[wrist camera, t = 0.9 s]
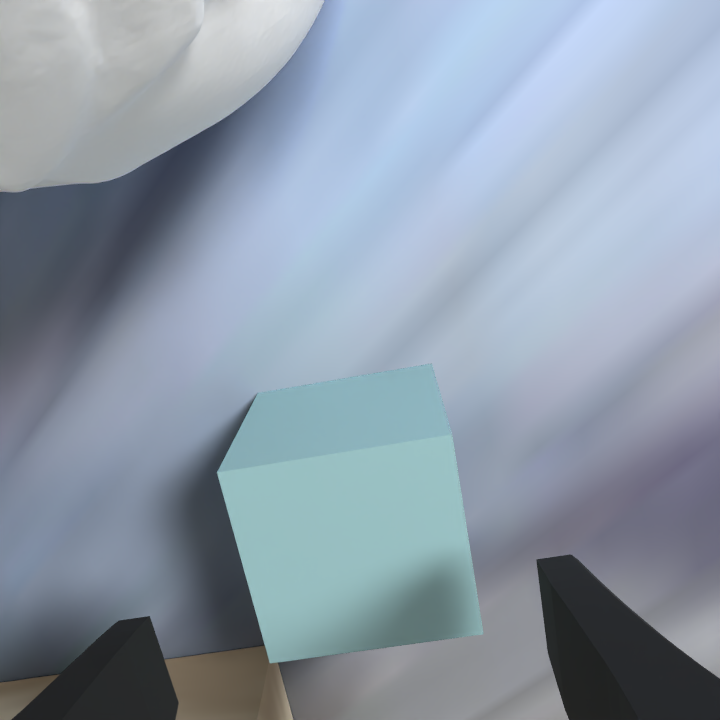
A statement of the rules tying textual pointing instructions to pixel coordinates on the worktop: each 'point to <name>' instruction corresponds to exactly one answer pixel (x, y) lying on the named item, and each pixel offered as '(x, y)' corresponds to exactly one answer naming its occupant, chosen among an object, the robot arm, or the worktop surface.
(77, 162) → the decorative rooster
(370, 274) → the worktop surface
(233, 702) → the birch plinth
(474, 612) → the teal block
